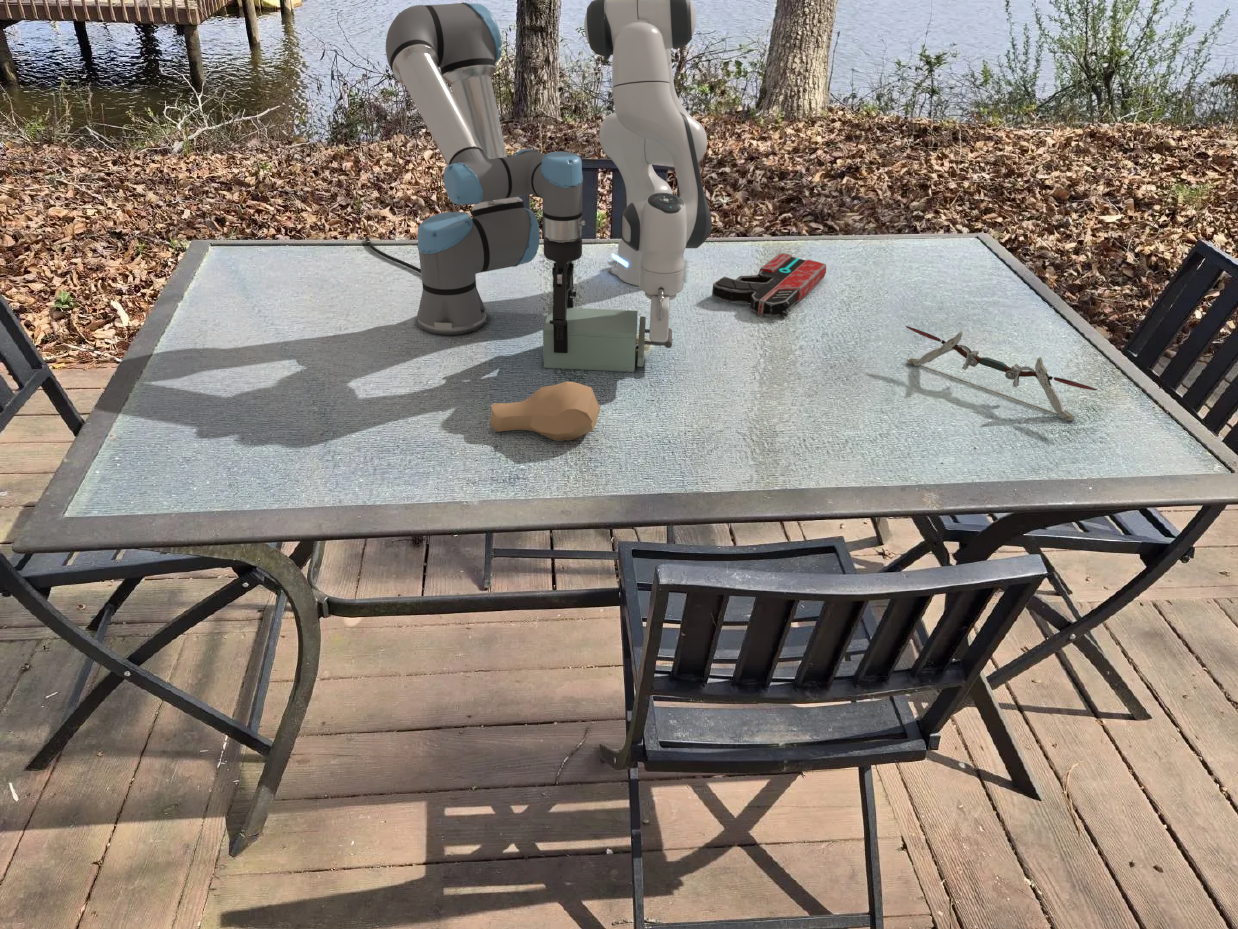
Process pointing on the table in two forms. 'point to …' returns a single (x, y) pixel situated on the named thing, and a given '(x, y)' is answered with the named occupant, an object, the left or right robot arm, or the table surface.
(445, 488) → the table surface
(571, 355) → the grey box
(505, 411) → the squash
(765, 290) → the gun
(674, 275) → the right robot arm
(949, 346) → the bow
